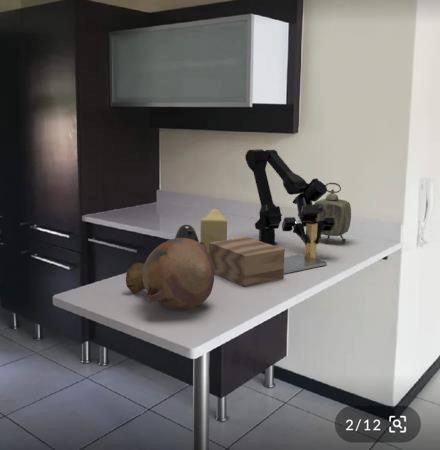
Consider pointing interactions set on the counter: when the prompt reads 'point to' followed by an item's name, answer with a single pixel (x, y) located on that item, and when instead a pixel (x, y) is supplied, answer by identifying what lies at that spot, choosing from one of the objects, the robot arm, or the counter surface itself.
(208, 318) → the counter surface
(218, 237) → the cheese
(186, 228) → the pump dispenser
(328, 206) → the tabletop clock
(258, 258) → the brown wooden block
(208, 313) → the counter surface
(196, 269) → the jug
